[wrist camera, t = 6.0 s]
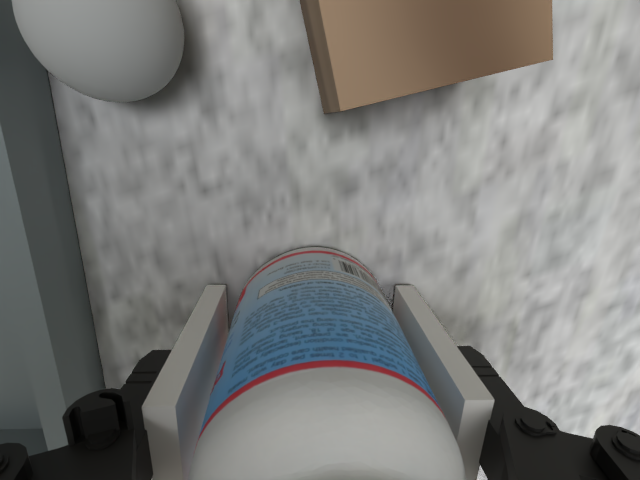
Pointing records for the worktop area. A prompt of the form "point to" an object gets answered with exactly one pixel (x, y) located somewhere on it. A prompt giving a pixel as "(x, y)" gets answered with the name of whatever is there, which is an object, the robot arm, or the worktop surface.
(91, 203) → the worktop surface
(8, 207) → the tray
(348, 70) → the walnut block
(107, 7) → the ball
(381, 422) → the pill bottle
